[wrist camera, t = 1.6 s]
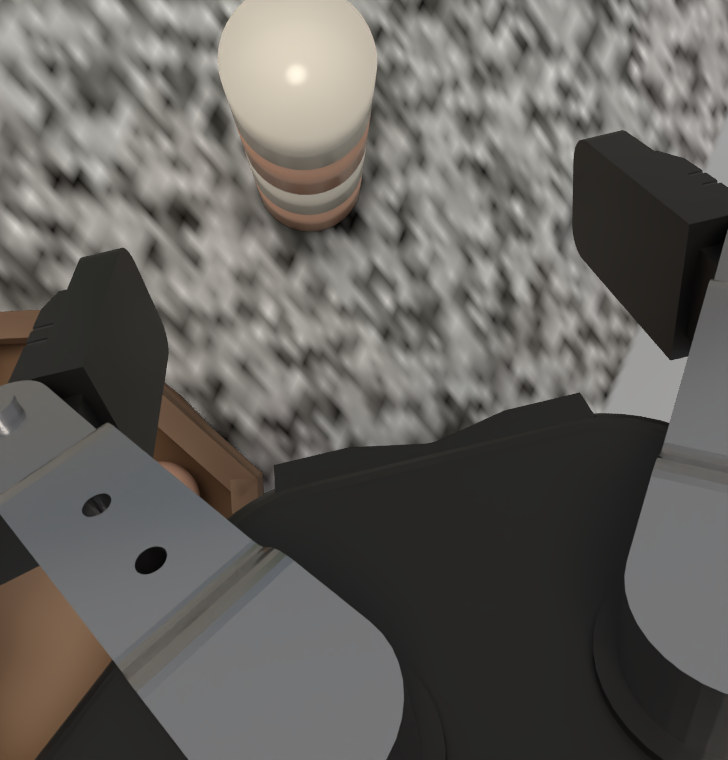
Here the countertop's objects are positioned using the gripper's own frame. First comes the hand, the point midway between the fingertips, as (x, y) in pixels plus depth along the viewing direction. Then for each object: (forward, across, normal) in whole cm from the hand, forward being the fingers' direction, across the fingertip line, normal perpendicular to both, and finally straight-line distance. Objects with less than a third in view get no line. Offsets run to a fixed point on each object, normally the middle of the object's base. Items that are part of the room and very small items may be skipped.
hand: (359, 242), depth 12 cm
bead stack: (+17, +1, +5) cm, 18 cm away
